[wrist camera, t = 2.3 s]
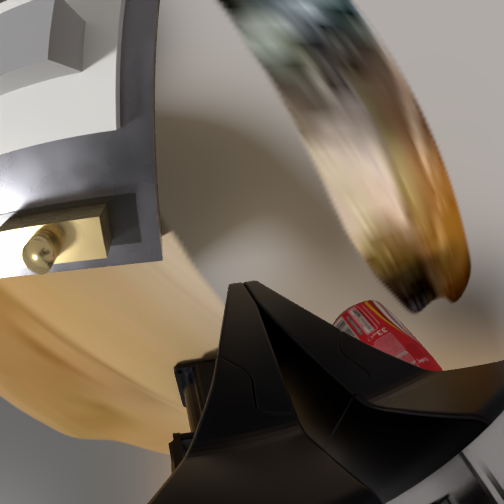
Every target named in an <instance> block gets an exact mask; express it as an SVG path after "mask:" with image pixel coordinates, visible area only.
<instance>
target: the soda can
mask: <svg viewBox="0 0 504 504" xmlns="http://www.w3.org/2000/svg"><path fill="white" fill-rule="evenodd" d="M333 326H335V327H337V328H339V329H340V330H341V331H344V332H346V333H348V334H349V335H351V336H353V337H355V338H357V339H359V340H360V341H362V342H364V343H366V344H368V345H370V346H372V347H374V348H377V349H379V350H381V351H383V352H385V353H388V354H390V355H392V356H394V357H397V358H399V359H401V360H404V361H406V362H408V363H411V364H413V365H415V366H418V367H420V368H423V369H427V370H432V371H443V370H442V368H441V367H440V366H439V365H438V363H437V362H436V361H435V360H434V358H433V357H432V356H431V355H430V354H429V353H428V351H427V350H426V349H425V348H424V347H423V346H422V344H421V343H420V342H419V341H418V340H417V339H416V338H415V337H414V336H413V335H412V333H410V331H409V330H408V329H407V328H406V327H405V326H404V325H403V324H402V323H401V322H400V321H399V320H398V319H397V318H396V317H395V316H394V315H393V314H392V313H391V312H390V311H389V310H388V309H386V308H385V307H384V306H383V305H382V304H380V303H379V302H377V301H373V300H372V301H371V300H369V301H364V302H361V303H358V304H356V305H354V306H352V307H350V308H348V309H347V310H345V311H344V312H343V313H342V314H341V315H340V316H339V317H338V318H337V319H336V321H335V322H334V324H333Z"/></svg>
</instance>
